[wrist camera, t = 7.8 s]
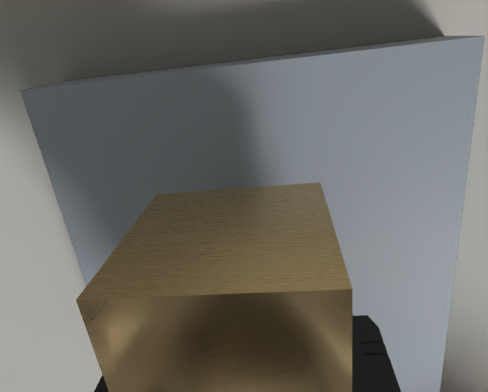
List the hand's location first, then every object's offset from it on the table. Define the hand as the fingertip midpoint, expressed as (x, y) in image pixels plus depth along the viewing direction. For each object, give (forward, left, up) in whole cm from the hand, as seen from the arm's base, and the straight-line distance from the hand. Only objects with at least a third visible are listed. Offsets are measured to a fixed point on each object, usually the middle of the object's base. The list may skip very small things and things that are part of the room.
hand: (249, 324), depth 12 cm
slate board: (0, 0, -7) cm, 7 cm away
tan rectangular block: (0, 0, -1) cm, 1 cm away
